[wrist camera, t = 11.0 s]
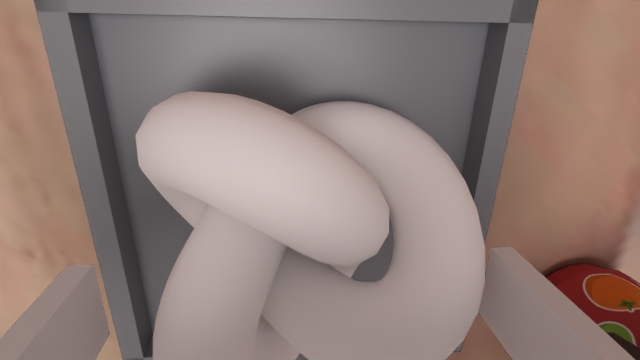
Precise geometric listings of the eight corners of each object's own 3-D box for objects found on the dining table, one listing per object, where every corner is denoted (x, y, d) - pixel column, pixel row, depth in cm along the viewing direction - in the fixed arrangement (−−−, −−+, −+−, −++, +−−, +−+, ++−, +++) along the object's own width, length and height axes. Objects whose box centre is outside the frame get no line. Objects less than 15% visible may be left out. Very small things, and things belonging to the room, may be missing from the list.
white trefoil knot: (367, 310, 21) (422, 494, 13) (146, 275, 19) (40, 470, 11) (445, 120, 17) (597, 209, 9) (177, 46, 15) (49, 72, 7)
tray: (443, 319, 23) (460, 351, 21) (142, 336, 21) (126, 373, 19) (503, -2, 16) (539, -6, 14) (68, -15, 15) (28, -22, 12)
